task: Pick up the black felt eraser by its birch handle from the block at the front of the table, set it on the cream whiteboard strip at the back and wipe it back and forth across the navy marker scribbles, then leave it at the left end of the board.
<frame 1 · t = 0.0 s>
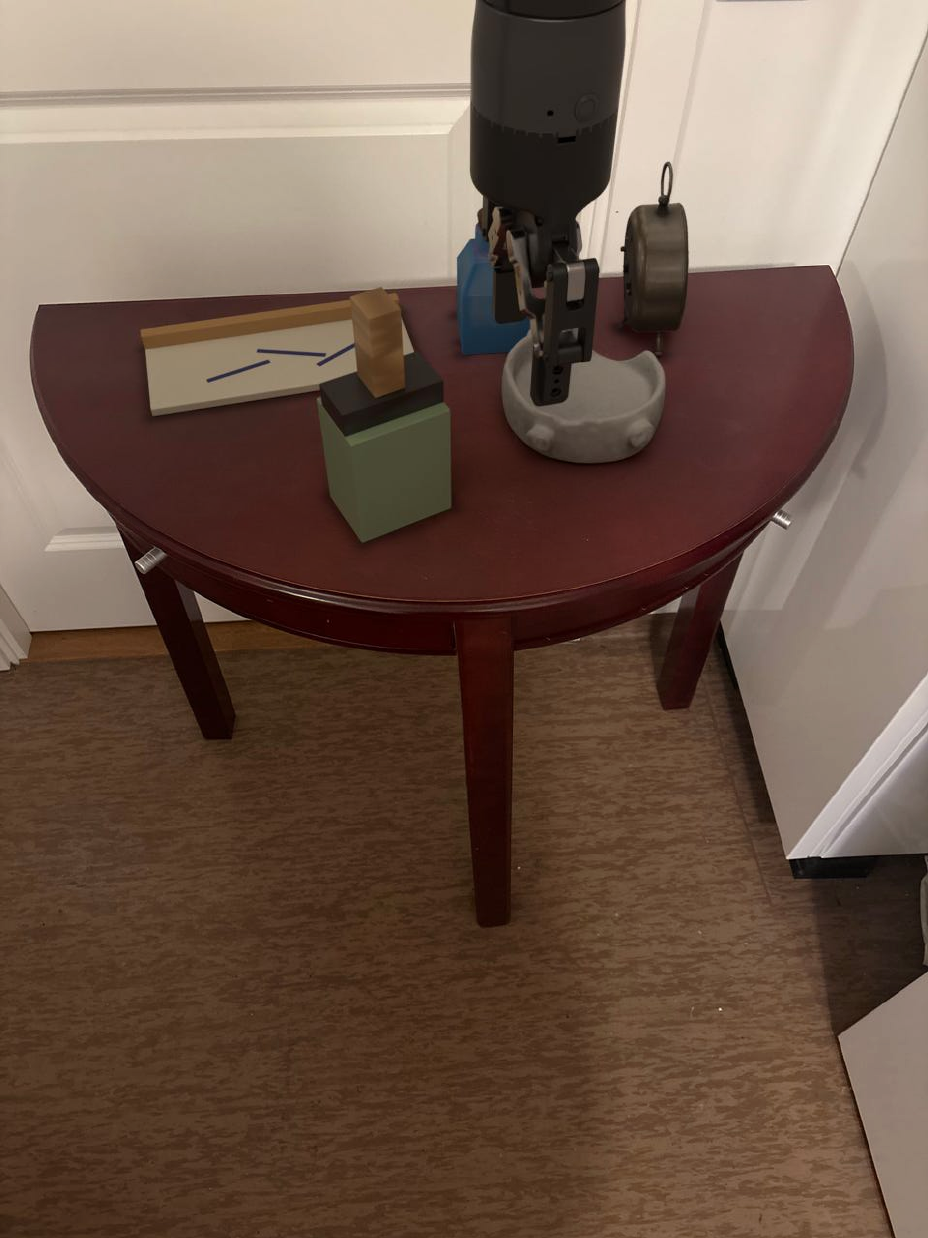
hand: (528, 358, 63), 19 cm above the table, tool pointing down, fingers open, 8 cm apart
alarm clock: (641, 331, 96), on the table
board: (281, 361, 93), on the table
perfume bottle: (492, 334, 96), on the table
dish: (578, 421, 88), on the table
eraser: (383, 403, 74), point 10 cm above the table, touching block
block: (390, 502, 81), on the table
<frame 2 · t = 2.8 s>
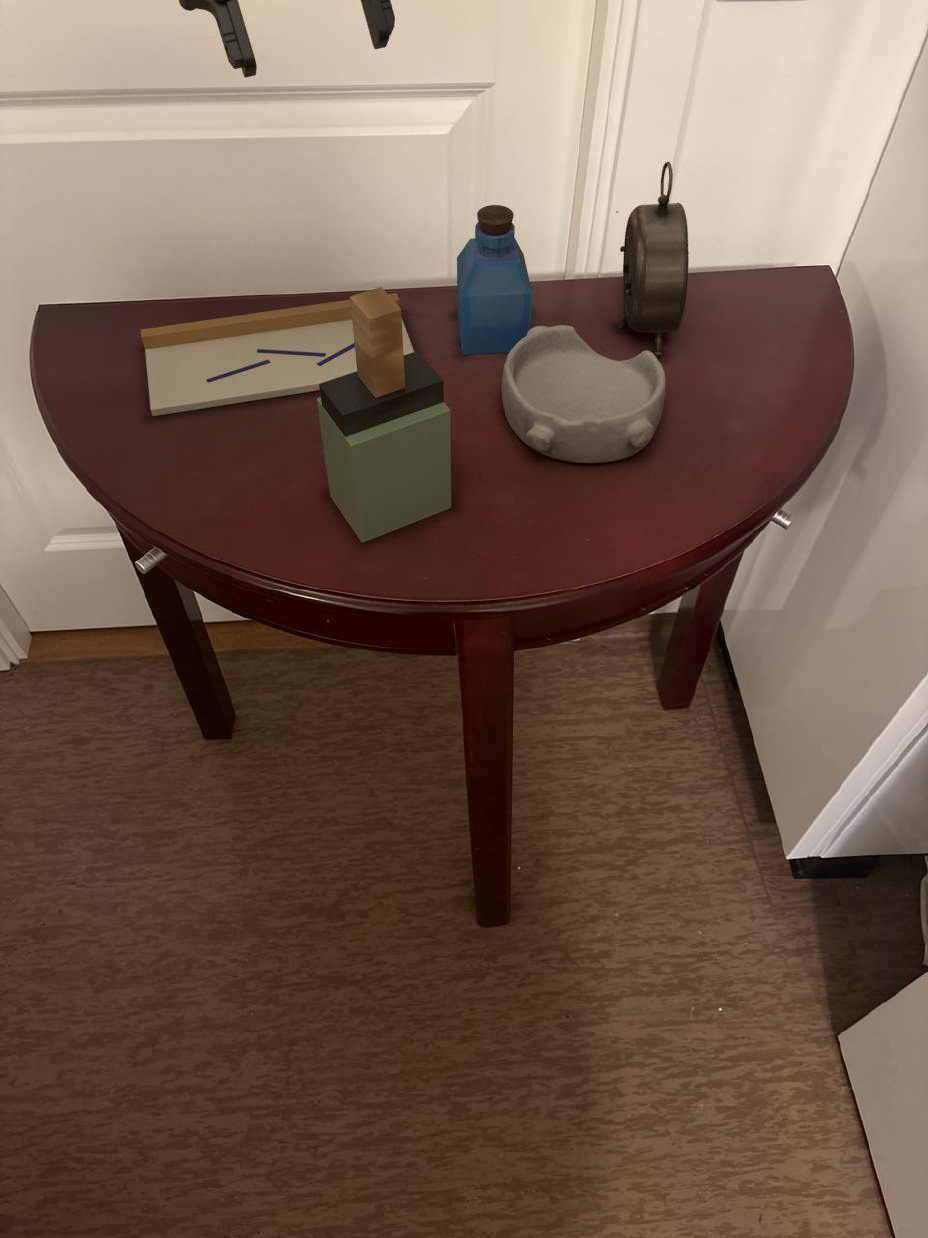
hand: (317, 57, 63), 31 cm above the table, tool tilted 40°, fingers open, 8 cm apart
nothing on the table moved.
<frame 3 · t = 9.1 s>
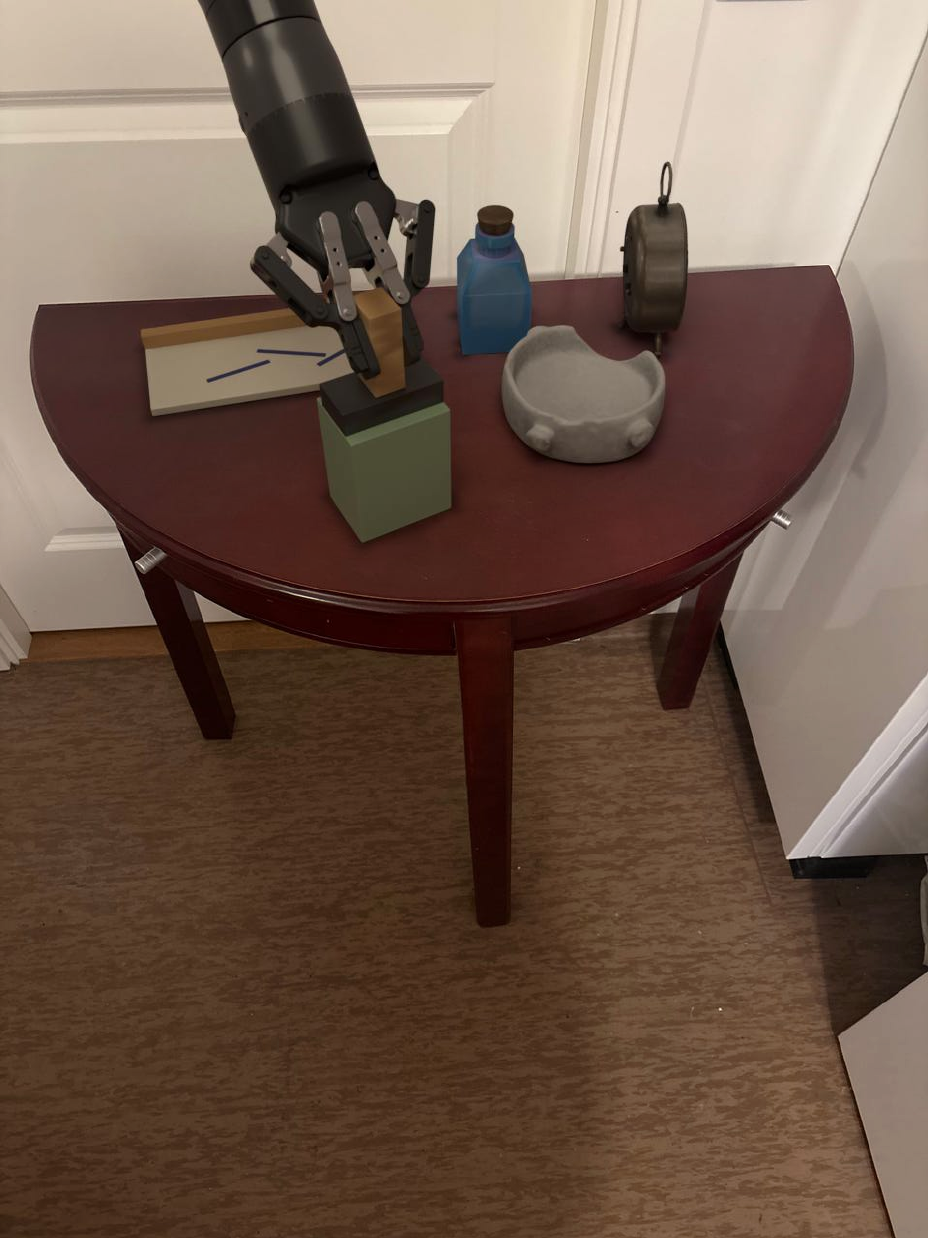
hand: (393, 368, 69), 14 cm above the table, tool tilted 45°, fingers closed on eraser, 2 cm apart
eraser: (383, 403, 74), point 10 cm above the table, touching gripper, block
everything else where it was.
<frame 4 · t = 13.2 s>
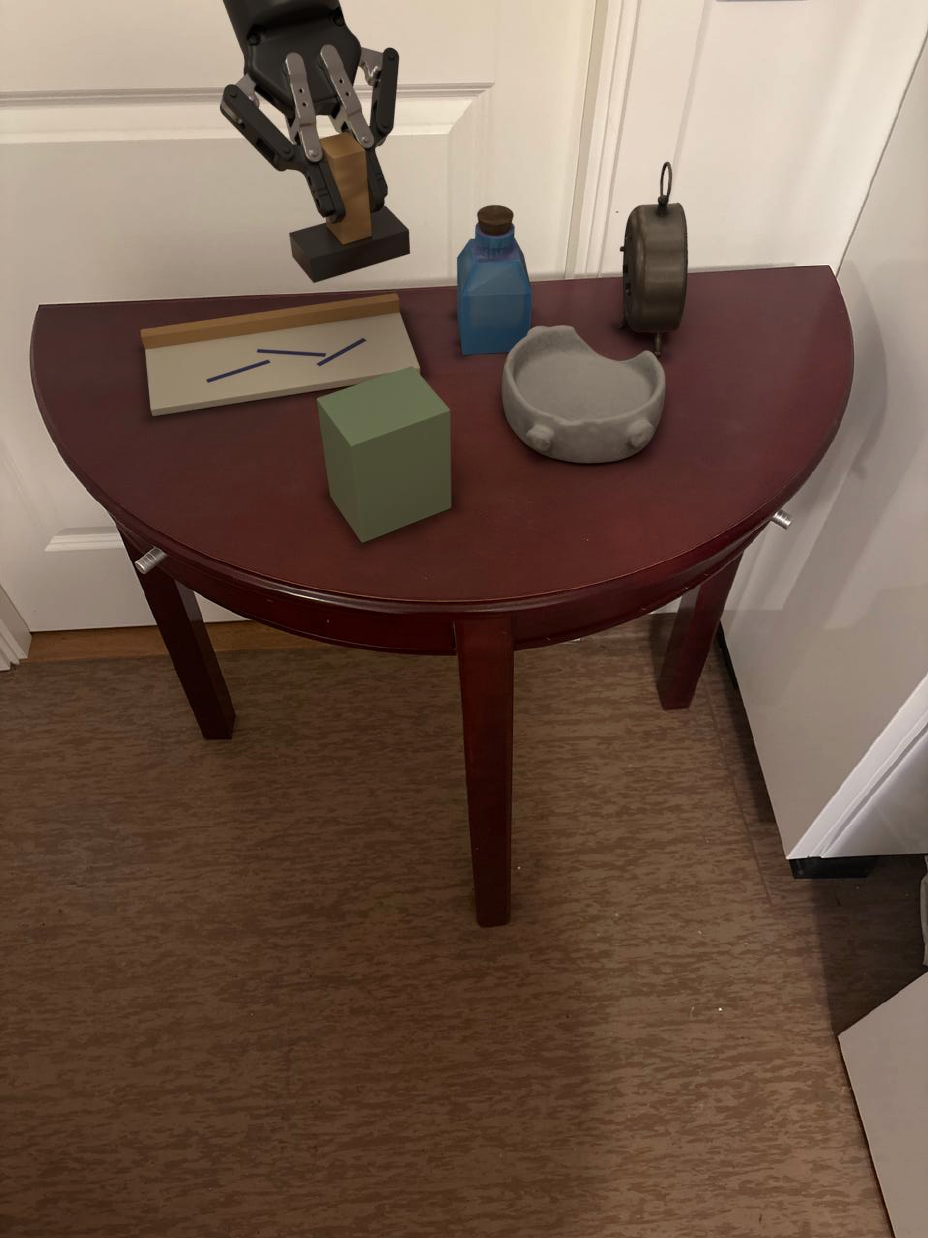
hand: (358, 212, 72), 20 cm above the table, tool tilted 45°, fingers closed on eraser, 2 cm apart
eraser: (351, 255, 76), point 15 cm above the table, touching gripper
everything else where it was.
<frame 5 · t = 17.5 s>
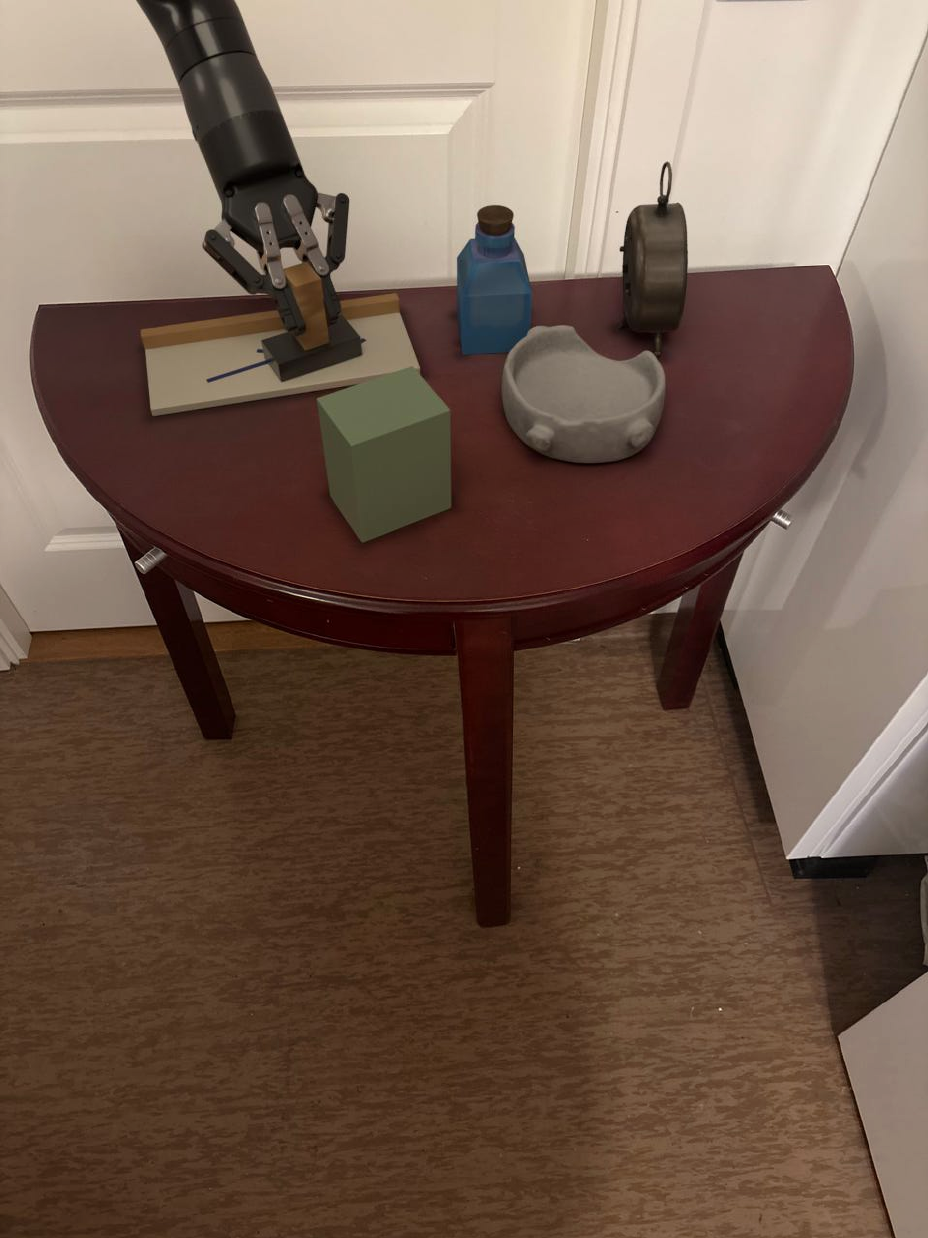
hand: (317, 327, 87), 5 cm above the table, tool tilted 45°, fingers closed on eraser, 2 cm apart
eraser: (313, 356, 92), point 1 cm above the table, touching gripper
everything else where it was.
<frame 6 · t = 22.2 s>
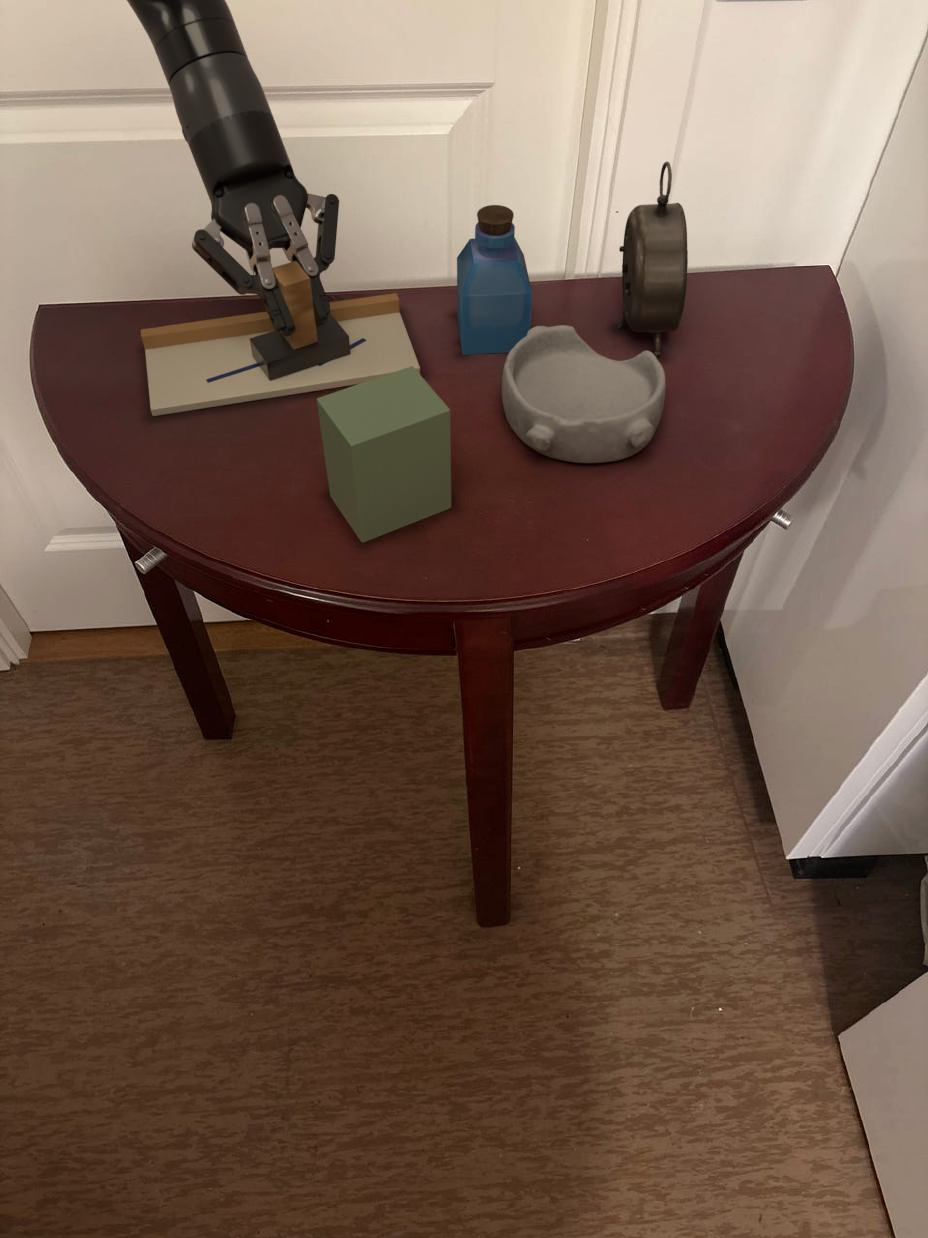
hand: (306, 327, 88), 5 cm above the table, tool tilted 45°, fingers closed on eraser, 2 cm apart
eraser: (301, 355, 92), point 1 cm above the table, touching gripper
everything else where it was.
when the fingers open (5 cm above the table, at t = 26.2 s): eraser stays where it is, resting on board.
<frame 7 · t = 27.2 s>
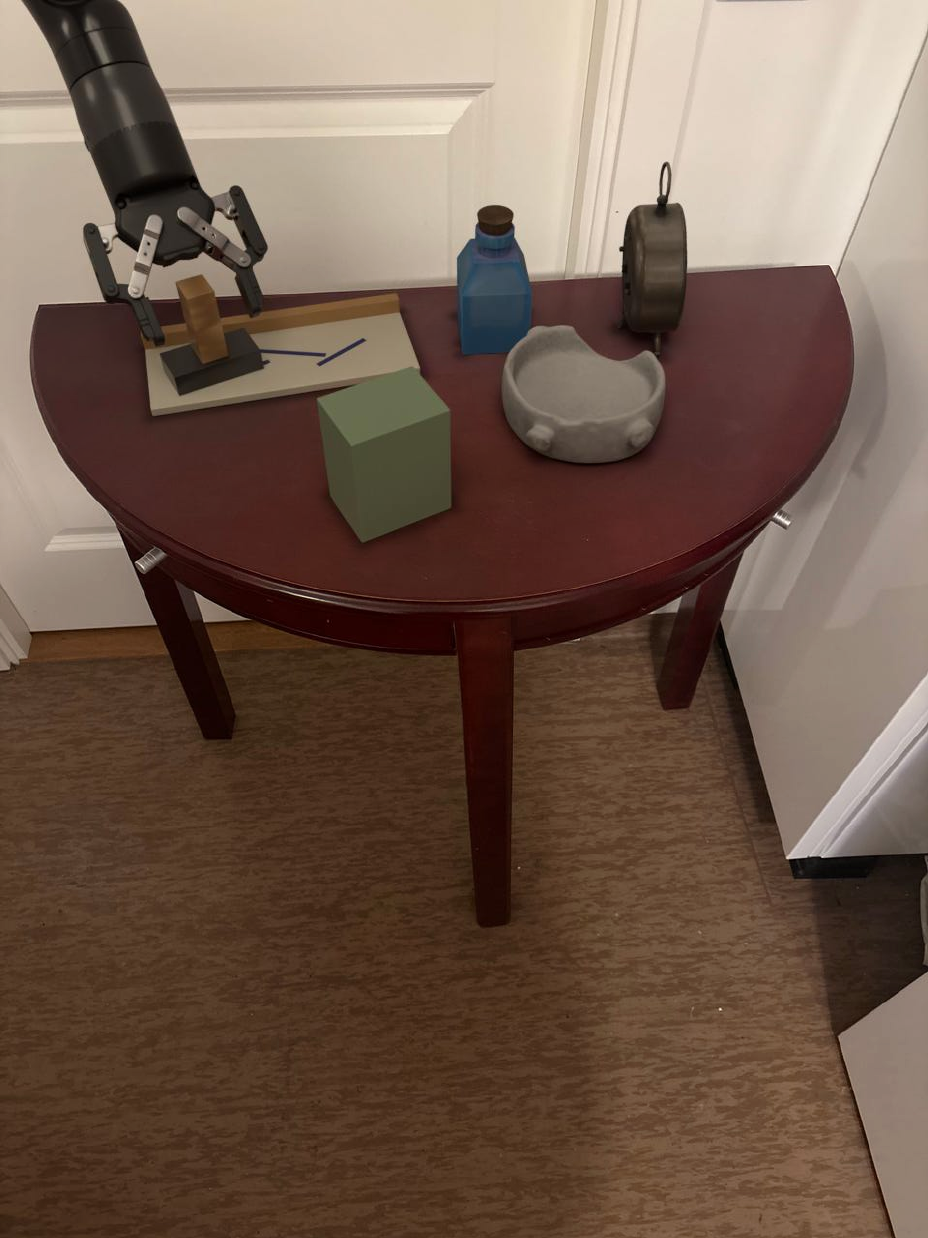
hand: (209, 329, 86), 6 cm above the table, tool tilted 45°, fingers open, 8 cm apart
eraser: (214, 370, 91), point 1 cm above the table, touching board
everything else where it was.
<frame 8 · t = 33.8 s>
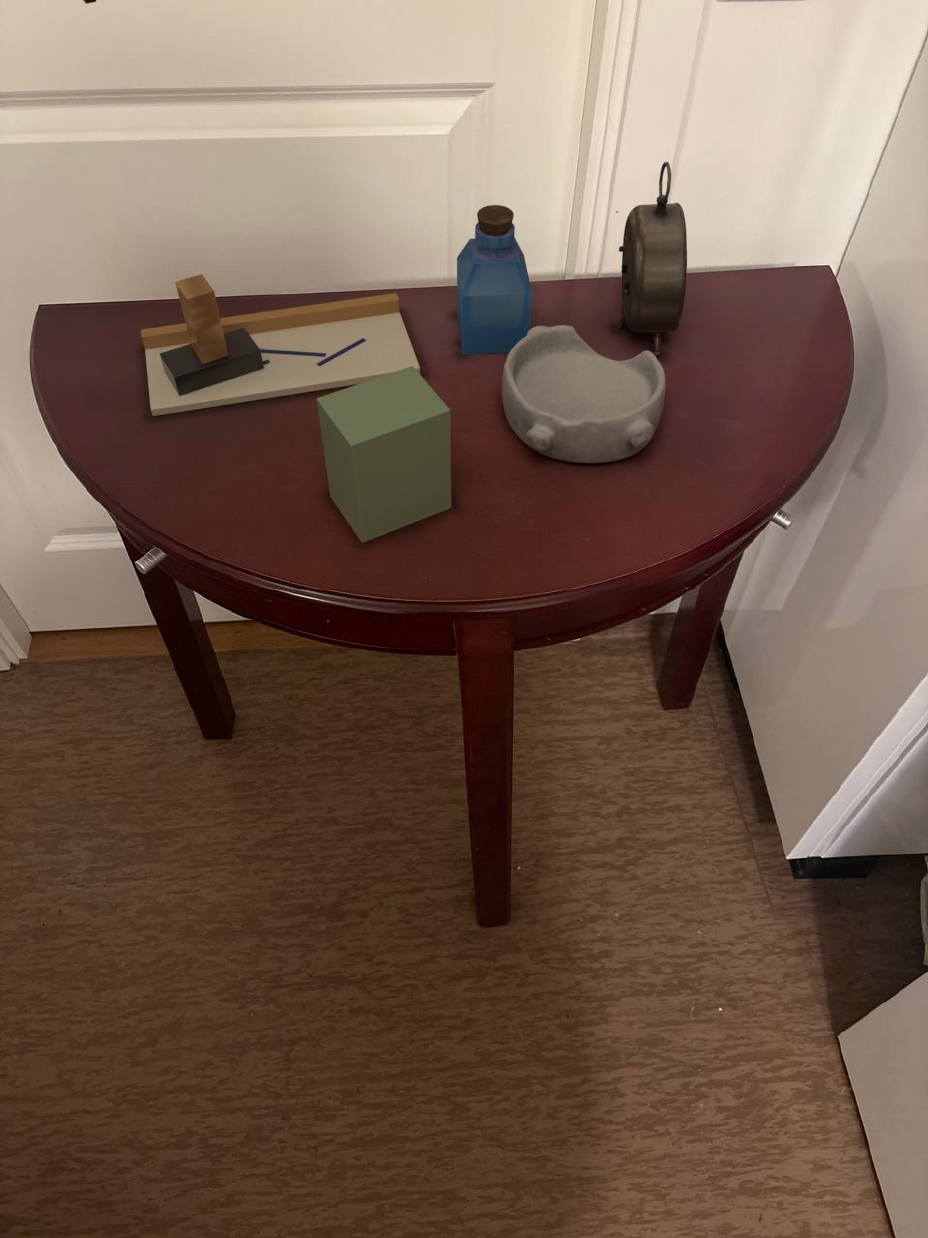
hand: (26, 10, 68), 30 cm above the table, tool pointing down, fingers open, 8 cm apart
nothing on the table moved.
at the end: eraser 0.4 cm from the target spot on the board, point 0.8 cm above the board's base; eraser tilted 1°; the gripper is holding nothing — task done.
